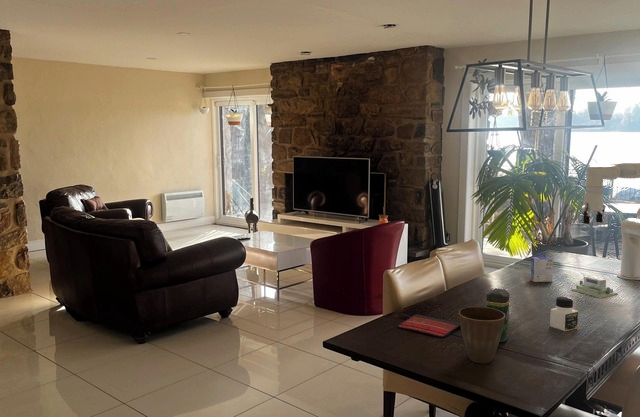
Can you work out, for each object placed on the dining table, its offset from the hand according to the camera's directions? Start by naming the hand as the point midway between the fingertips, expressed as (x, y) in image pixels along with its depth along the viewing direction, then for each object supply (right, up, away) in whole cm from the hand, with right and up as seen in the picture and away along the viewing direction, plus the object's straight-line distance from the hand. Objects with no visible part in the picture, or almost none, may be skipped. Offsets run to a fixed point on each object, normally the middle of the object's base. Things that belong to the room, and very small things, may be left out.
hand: (592, 222), depth 286 cm
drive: (-8, -32, -19) cm, 38 cm away
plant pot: (-86, -44, -99) cm, 138 cm away
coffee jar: (-75, -41, -80) cm, 117 cm away
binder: (-97, -40, -66) cm, 125 cm away
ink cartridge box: (-25, -31, +4) cm, 39 cm away
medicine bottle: (-45, -39, -68) cm, 91 cm away
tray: (-8, -33, -19) cm, 39 cm away
